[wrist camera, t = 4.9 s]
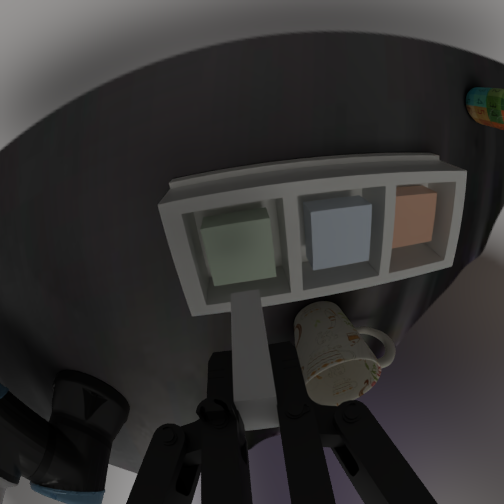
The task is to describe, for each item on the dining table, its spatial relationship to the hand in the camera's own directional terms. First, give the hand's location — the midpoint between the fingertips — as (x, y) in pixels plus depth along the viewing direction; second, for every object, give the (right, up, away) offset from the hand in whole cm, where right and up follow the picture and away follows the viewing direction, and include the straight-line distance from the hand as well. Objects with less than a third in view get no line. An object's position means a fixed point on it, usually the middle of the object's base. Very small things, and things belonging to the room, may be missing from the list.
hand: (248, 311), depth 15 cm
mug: (+10, -5, +17) cm, 21 cm away
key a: (-1, +4, +8) cm, 9 cm away
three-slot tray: (+7, +7, +10) cm, 14 cm away
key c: (+15, +7, +9) cm, 19 cm away
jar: (+26, +20, +5) cm, 33 cm away
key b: (+7, +5, +8) cm, 12 cm away
